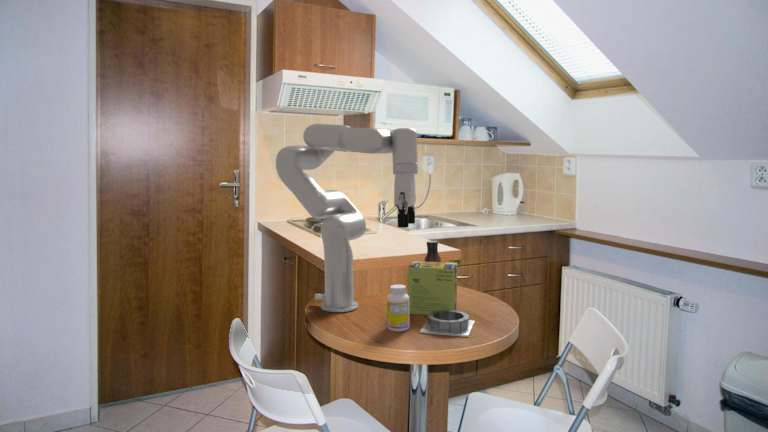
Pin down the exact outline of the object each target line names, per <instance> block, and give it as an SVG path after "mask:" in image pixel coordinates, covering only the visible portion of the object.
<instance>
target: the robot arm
mask: <svg viewBox="0 0 768 432" xmlns="http://www.w3.org/2000/svg"><path fill="white" fill-rule="evenodd" d="M302 138H303V141H304V144H306V145H288V146H285V147H282V148H281V149H279V151H278V152H277V154H276V158H275V169H276V173H277V176H278V178H279V179H280V181H281V182H282V183H283V184H284V185H285V187H286V188H287V189H288V190H289V191H291V193H292V194H293V195H294V197H295V198H296V200H297V201H298V202H299V203H300V204H301V205H302V207H303V208H304V209H305V210H306V212H307V213H308V214H309V215H310V217H312V218H314V219H316V220H322V219H323V221H322V223H321V226H320V234H321V235H320V236H321V240H322V244H323V258H324V259H323V260H324V261H323V263H324V292H323V294H322V293H314V301H318V302H319V301H321V304H320V309H321V310H322V311H325V312H328V313H329V312H330V313H347V312H351V311H354V310H356V309H358V308H359V302H358V301H355V300H354V257H353V256H354V255H353V250H352V247H351V245H350V241H353V240H357V239H359V238H361V237H363V235H365V232H366V230H367V222H366V219H365V217H364V216H363V215H362V213H361V212H360V211H359V210H358V208H357V207H356V206H355V205H354V204H353V202H351V200H350V199H349V198H348V197H347V196H346V194H344V193H343V192H341V191H339V190H336V189H327V190H325V189H323V188H322V187H320V185H319V184H318V183H317V182H316V181H315V179H314V178H312V176H310V175H309V174H307V173H306V172H304V171H307V170H308V171H310V170H311V171H312V170H315V169H318V168H319V167H320V166H322V165H323V163H324V162H326V161H327V160H328V159H329V157H331V156H332V155H333V154H334V153H335V152H344V153H347V152H348V153H349V152H350V153H360V154H372V155H373V154H392V175H394V187H393V189H394V190H393V206H394V207H395V208H397V214H396V215H397V228H406V229H407V228H409V224H411V225H412V224H413V225H414V224H415V223H416V211H415V210H416V209H415V204H416V200H417V199H416V178H415V177H416V176H415V175H418V167H419V166H418V133H417V131H416V129H415V128H410V127H403V128H402V127H401V128H395V129H388V128H387V129H385V128H374V127H373V128H372V127H371V128H370V127H351V126H349V125H346V124H331V123H330V124H328V123H313V124H310V125H308V126H307V127H305V129H304V132H303V136H302Z"/></svg>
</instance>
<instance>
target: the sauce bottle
mask: <svg viewBox="0 0 768 432" xmlns="http://www.w3.org/2000/svg"><path fill="white" fill-rule="evenodd" d="M438 246H439V242H438V240H427V241H426V247H427V250H426V252H427V253H426V255H425V257H424V262H442V258H441V256H440V254H439V252H438V249H439V248H438Z"/></svg>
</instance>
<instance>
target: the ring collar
mask: <svg viewBox="0 0 768 432" xmlns="http://www.w3.org/2000/svg"><path fill="white" fill-rule="evenodd" d="M426 316H427V318H426V322H425V323H424V324H423V326H422V327H421V329H420V330H419V334H429V335H441V336H451V337H461V338H469V336H470V335H471V332H472V330H473V327H474V325H475V324H476V320H471V319H470V315H469V314H468V313H467V312H463V311H459V310H457V309H456V310H437V311H433V312H430V313H429V314H428V315H426Z"/></svg>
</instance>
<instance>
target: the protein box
mask: <svg viewBox="0 0 768 432" xmlns="http://www.w3.org/2000/svg"><path fill="white" fill-rule="evenodd" d="M407 295H408V296H409V315H423V316H424V315H425V316H427V315H428V314H429V313H430V312H433V311H437V310H456V311H457V310H458V309H457V308H458V263H457V262H453V261H452V262H450V261H449V262H448V261H447V262H446V261H444V262H443V261H441V262H425V261H412V262H411V263H410V264H409V266H408V267H407Z"/></svg>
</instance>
